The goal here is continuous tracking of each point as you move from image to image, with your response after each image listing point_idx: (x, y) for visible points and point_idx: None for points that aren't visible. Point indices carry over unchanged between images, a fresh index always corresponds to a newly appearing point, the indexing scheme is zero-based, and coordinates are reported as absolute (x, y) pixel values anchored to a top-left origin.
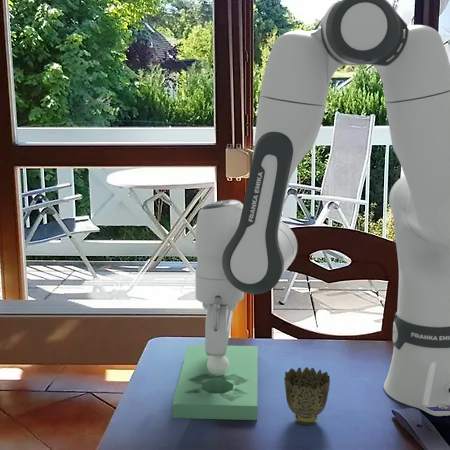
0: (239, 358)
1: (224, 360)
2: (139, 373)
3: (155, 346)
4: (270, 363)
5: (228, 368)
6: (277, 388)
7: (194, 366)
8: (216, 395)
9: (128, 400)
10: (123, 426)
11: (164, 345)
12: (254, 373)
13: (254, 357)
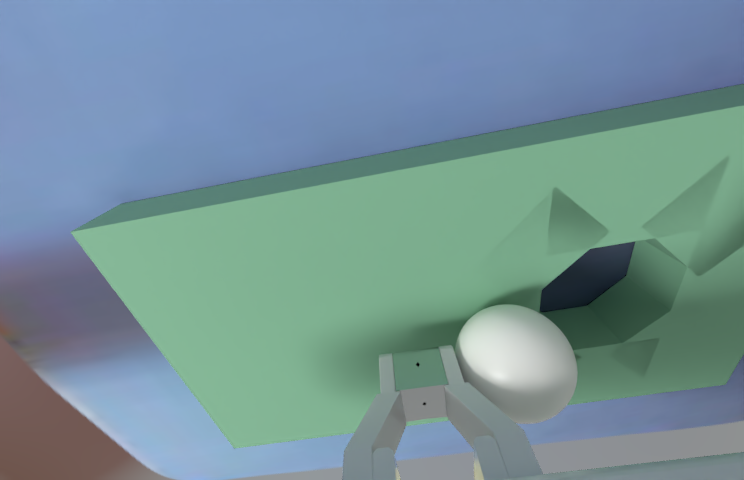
0: (286, 282)
1: (562, 363)
2: (402, 457)
3: (223, 472)
4: (148, 127)
5: (515, 310)
6: (451, 25)
7: None
8: (699, 285)
9: (556, 438)
10: (694, 414)
11: (204, 461)
12: (458, 176)
13: (240, 218)
